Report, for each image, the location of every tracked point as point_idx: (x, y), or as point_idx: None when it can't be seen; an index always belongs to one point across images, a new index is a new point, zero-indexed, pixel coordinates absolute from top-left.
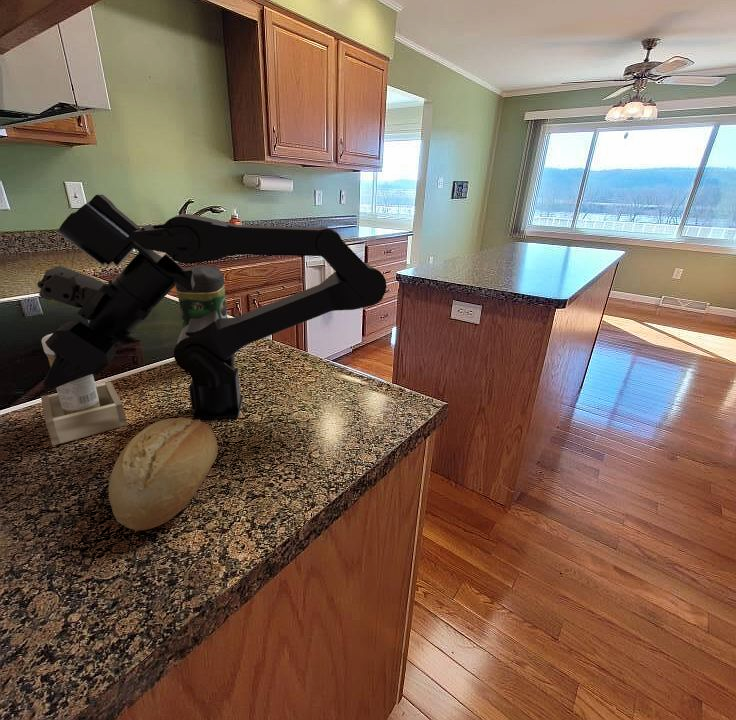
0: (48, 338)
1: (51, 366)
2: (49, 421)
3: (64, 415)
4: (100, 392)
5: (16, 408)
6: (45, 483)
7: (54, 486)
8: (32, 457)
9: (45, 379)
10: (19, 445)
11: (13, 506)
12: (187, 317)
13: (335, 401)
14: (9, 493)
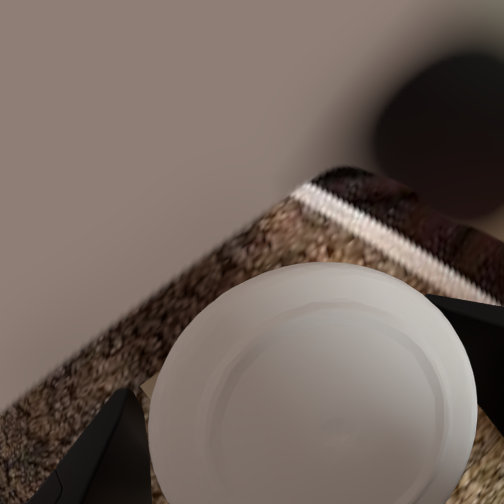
0: (230, 358)
1: (51, 473)
2: (147, 392)
3: None
4: None
5: (311, 199)
6: (51, 440)
7: (46, 458)
8: (118, 371)
9: (99, 411)
10: (161, 314)
11: (8, 417)
12: None
13: None
14: (29, 394)
